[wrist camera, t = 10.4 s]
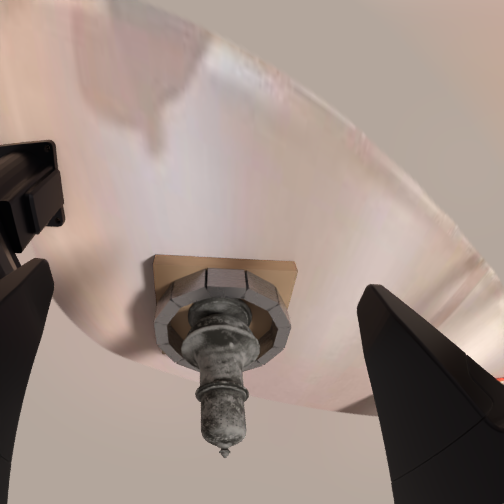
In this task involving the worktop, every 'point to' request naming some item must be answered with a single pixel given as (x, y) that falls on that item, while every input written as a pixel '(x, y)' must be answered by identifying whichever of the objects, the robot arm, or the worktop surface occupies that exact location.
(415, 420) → the robot arm
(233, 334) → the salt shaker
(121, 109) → the worktop surface
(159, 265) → the socket base
